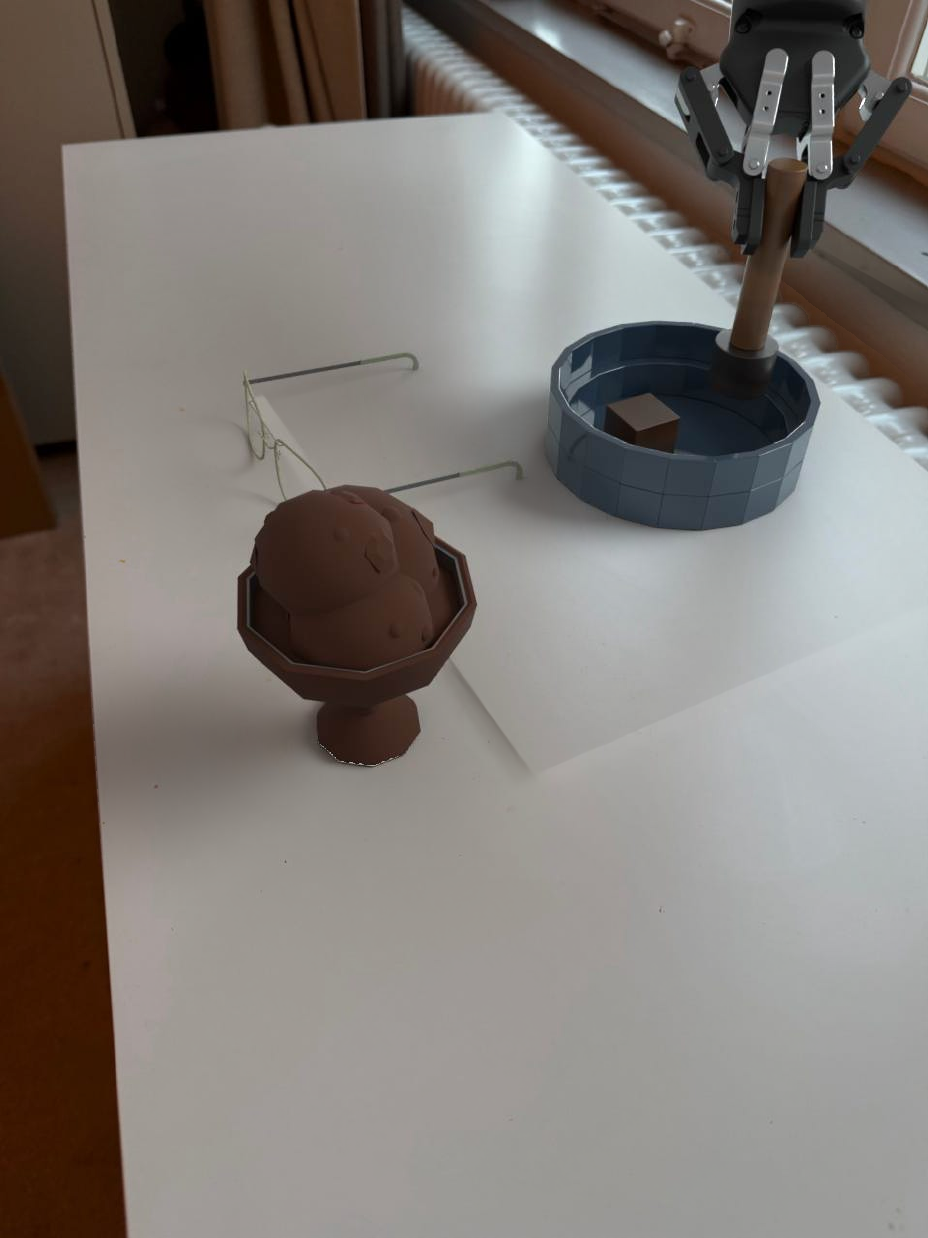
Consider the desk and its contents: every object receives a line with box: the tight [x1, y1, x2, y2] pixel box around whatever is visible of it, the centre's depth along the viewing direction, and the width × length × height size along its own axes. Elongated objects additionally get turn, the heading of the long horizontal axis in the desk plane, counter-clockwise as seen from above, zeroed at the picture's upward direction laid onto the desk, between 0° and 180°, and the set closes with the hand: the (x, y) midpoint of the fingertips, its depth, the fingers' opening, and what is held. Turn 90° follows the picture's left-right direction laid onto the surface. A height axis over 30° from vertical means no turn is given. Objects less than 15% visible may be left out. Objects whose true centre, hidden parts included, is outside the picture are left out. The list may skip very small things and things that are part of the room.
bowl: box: [544, 320, 822, 531], centre depth 67 cm, size 17×17×6 cm
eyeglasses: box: [242, 351, 524, 501], centre depth 68 cm, size 16×15×5 cm
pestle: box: [707, 157, 808, 400], centre depth 61 cm, size 4×4×14 cm
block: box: [604, 393, 680, 454], centre depth 67 cm, size 4×4×4 cm
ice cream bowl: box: [236, 484, 478, 765], centre depth 47 cm, size 11×11×15 cm
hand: (775, 250), depth 57 cm, fingers closed on pestle, 2 cm apart
